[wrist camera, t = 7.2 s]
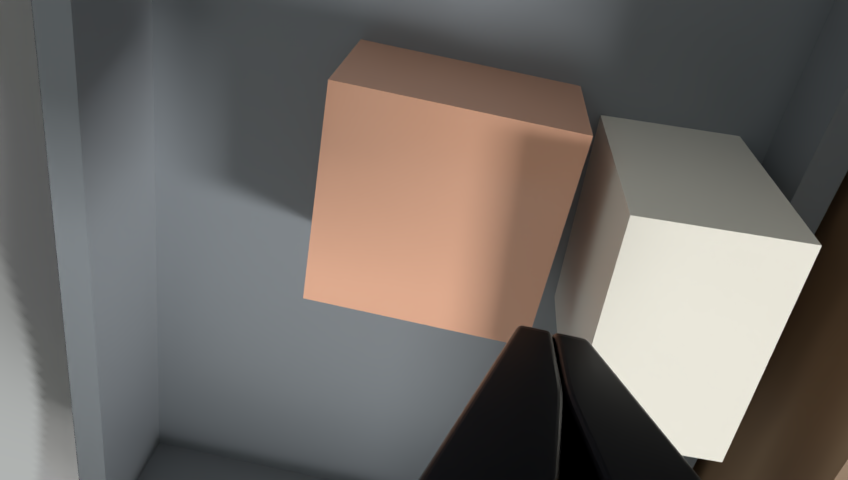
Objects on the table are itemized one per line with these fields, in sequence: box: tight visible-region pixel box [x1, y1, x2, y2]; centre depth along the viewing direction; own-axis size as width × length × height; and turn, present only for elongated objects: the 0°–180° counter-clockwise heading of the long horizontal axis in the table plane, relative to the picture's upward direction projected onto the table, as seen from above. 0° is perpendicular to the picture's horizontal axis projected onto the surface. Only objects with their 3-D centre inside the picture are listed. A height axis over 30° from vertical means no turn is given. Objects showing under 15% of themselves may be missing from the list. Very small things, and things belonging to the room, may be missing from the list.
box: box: [31, 0, 848, 480], centre depth 13 cm, size 13×20×3 cm, turn 171°
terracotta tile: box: [303, 39, 593, 343], centre depth 13 cm, size 4×4×2 cm
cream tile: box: [554, 115, 822, 462], centre depth 12 cm, size 4×4×2 cm
